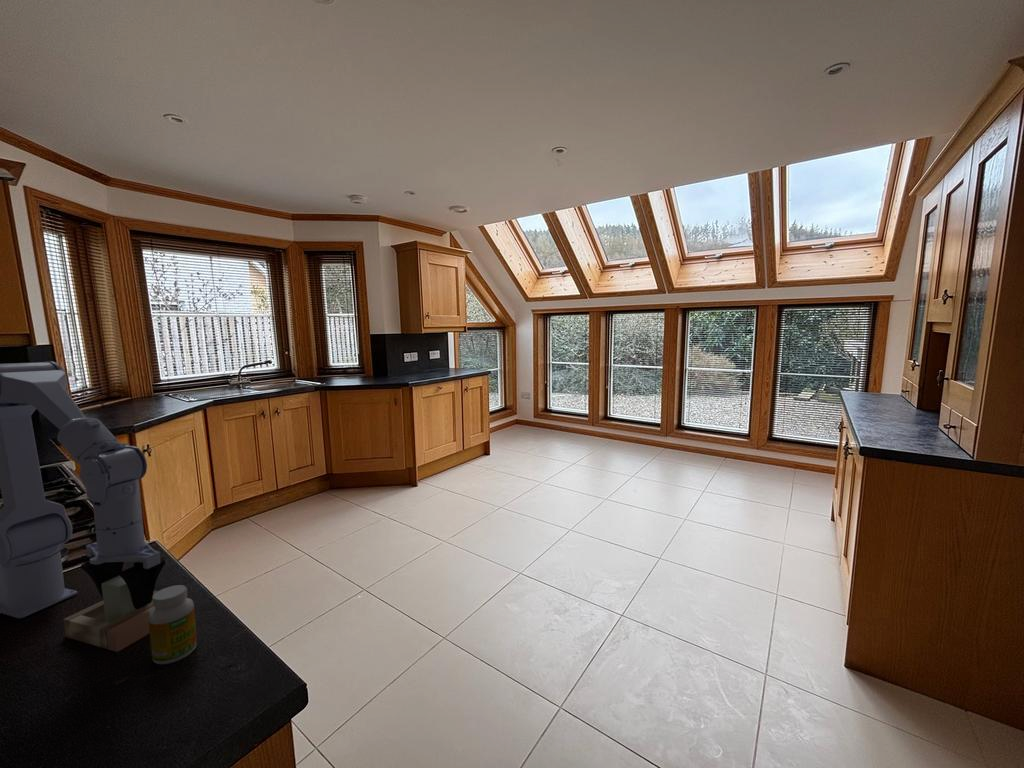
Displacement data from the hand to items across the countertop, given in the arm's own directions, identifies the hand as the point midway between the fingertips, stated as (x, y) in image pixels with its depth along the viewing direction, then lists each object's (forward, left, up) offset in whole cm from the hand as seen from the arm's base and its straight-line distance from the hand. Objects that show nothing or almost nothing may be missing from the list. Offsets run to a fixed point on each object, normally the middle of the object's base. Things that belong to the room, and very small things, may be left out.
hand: (127, 601), depth 72 cm
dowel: (-1, 0, -4) cm, 4 cm away
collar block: (-2, 0, -4) cm, 4 cm away
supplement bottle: (+14, -2, -4) cm, 15 cm away
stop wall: (+5, 0, -4) cm, 6 cm away
